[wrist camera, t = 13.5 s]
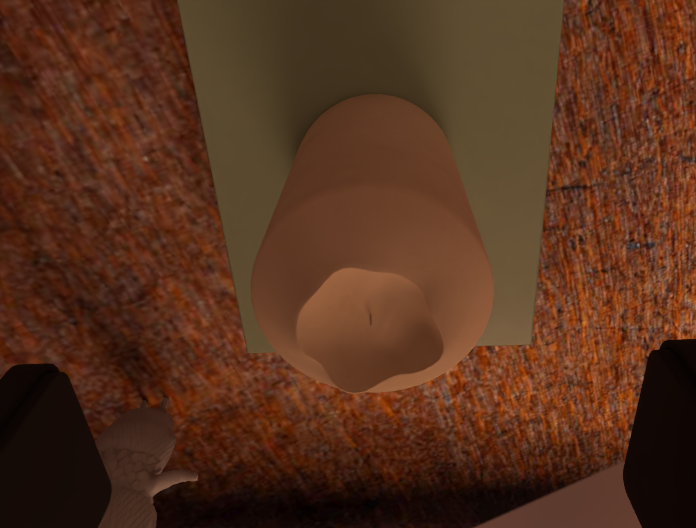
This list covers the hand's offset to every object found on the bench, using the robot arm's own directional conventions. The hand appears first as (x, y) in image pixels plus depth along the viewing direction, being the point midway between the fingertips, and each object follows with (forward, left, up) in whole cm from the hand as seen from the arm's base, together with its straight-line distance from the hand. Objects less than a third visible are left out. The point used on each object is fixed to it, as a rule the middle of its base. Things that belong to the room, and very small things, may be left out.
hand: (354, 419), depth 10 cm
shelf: (0, 0, -19) cm, 19 cm away
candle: (0, 0, -13) cm, 13 cm away
